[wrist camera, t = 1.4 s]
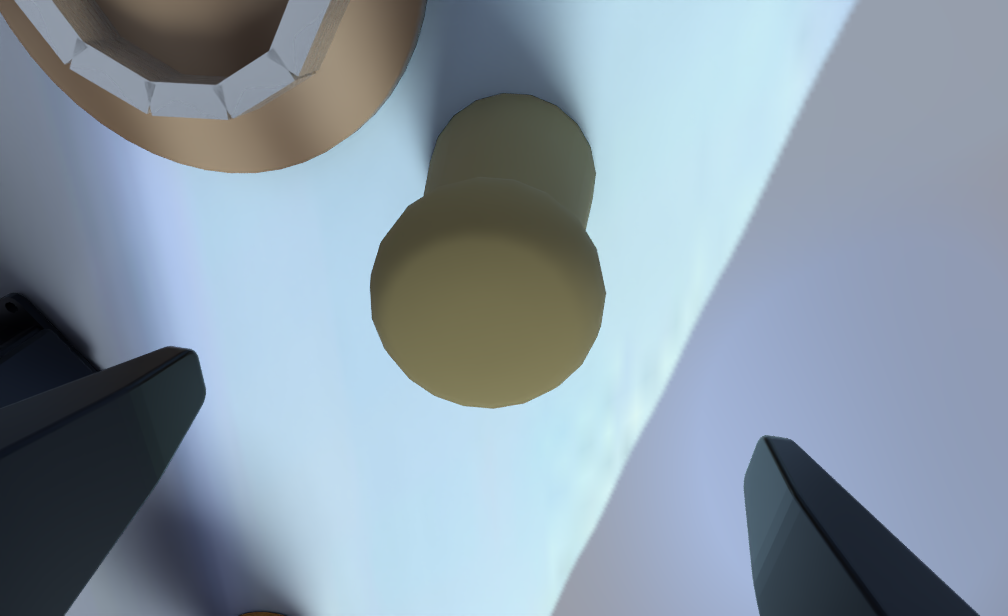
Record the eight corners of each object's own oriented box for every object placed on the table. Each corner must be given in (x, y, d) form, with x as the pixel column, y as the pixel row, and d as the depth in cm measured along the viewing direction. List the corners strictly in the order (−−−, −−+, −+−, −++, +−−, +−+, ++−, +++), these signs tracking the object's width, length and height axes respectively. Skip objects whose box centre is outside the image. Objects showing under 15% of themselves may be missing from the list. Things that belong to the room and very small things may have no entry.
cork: (399, 136, 21) (270, 257, 11) (558, 62, 19) (567, 130, 10) (472, 278, 23) (416, 480, 14) (618, 223, 22) (673, 405, 12)
